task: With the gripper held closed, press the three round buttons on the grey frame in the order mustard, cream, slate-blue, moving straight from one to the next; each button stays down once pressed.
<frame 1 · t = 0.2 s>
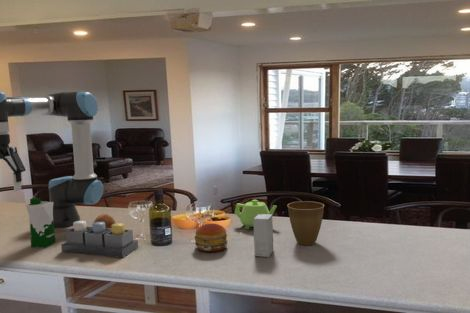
hand: (3, 189, 166), 28 cm above the worktop, tool pointing down, fingers open, 13 cm apart
cream button: (80, 228, 181), point 9 cm above the worktop, slide at 0.0 cm
teapot: (255, 226, 207), on the worktop
milk carton: (43, 245, 188), on the worktop
skincare box: (263, 253, 171), on the worktop
slate button: (98, 229, 179), point 9 cm above the worktop, slide at 0.0 cm
onion: (105, 235, 199), on the worktop
plant pot: (305, 243, 182), on the worktop
grey frame: (100, 249, 180), on the worktop
mustard button: (118, 230, 176), point 9 cm above the worktop, slide at 0.0 cm
burger: (211, 248, 178), on the worktop
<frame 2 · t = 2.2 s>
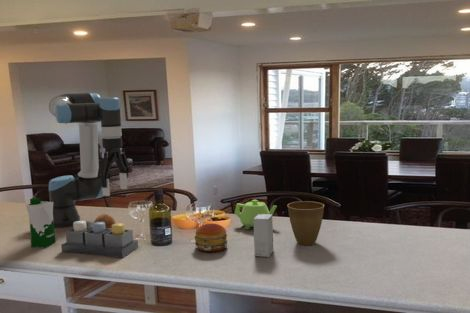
hand: (115, 192, 174), 24 cm above the worktop, tool pointing down, fingers open, 12 cm apart
nothing on the worktop moved.
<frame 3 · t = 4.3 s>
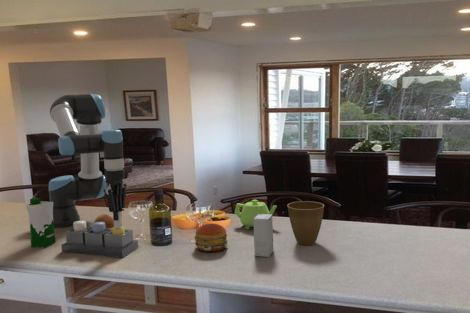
hand: (118, 227, 176), 10 cm above the worktop, tool pointing down, fingers closed
mustard button: (118, 234, 176), point 7 cm above the worktop, slide at 1.3 cm, touching gripper
everything else where it was.
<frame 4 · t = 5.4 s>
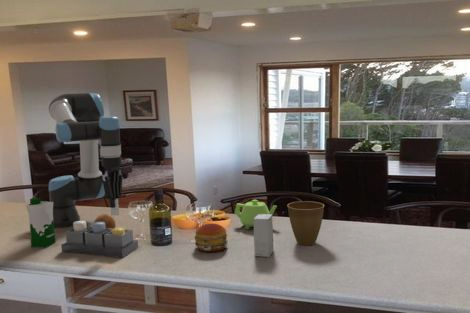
hand: (115, 214, 176), 15 cm above the worktop, tool pointing down, fingers closed
mustard button: (118, 235, 176), point 7 cm above the worktop, slide at 1.8 cm
everything else where it was.
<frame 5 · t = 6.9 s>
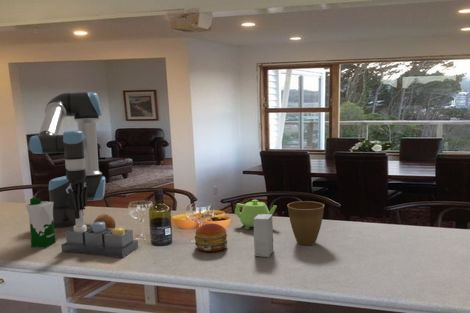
hand: (79, 225, 181), 10 cm above the worktop, tool pointing down, fingers closed
cream button: (80, 231, 182), point 7 cm above the worktop, slide at 1.6 cm, touching gripper
everything else where it was.
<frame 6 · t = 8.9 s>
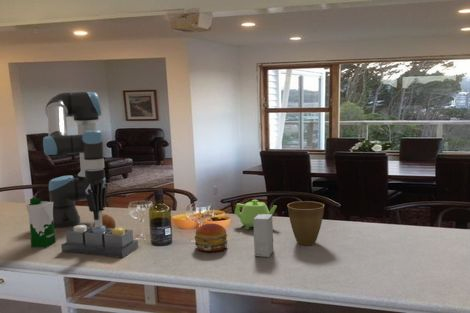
hand: (98, 226, 178), 10 cm above the worktop, tool pointing down, fingers closed
cream button: (80, 232, 182), point 7 cm above the worktop, slide at 1.8 cm
slate button: (99, 233, 179), point 7 cm above the worktop, slide at 1.6 cm, touching gripper
everything else where it was.
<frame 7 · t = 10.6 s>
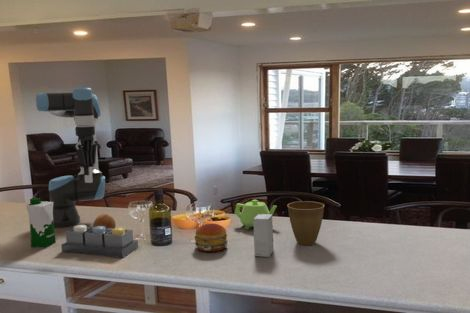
hand: (88, 182, 184), 27 cm above the worktop, tool pointing down, fingers closed
slate button: (99, 233, 179), point 7 cm above the worktop, slide at 1.8 cm
everything else where it was.
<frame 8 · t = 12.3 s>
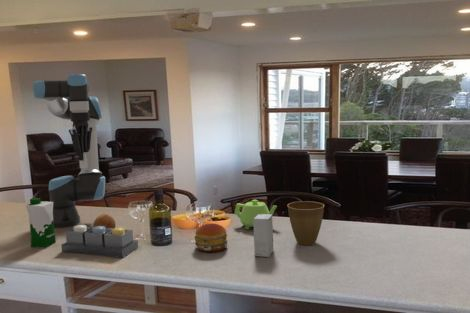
hand: (83, 167, 186), 32 cm above the worktop, tool pointing down, fingers closed
nothing on the worktop moved.
at the end: mustard button slide at 1.8 cm; cream button slide at 1.8 cm; slate button slide at 1.8 cm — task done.
